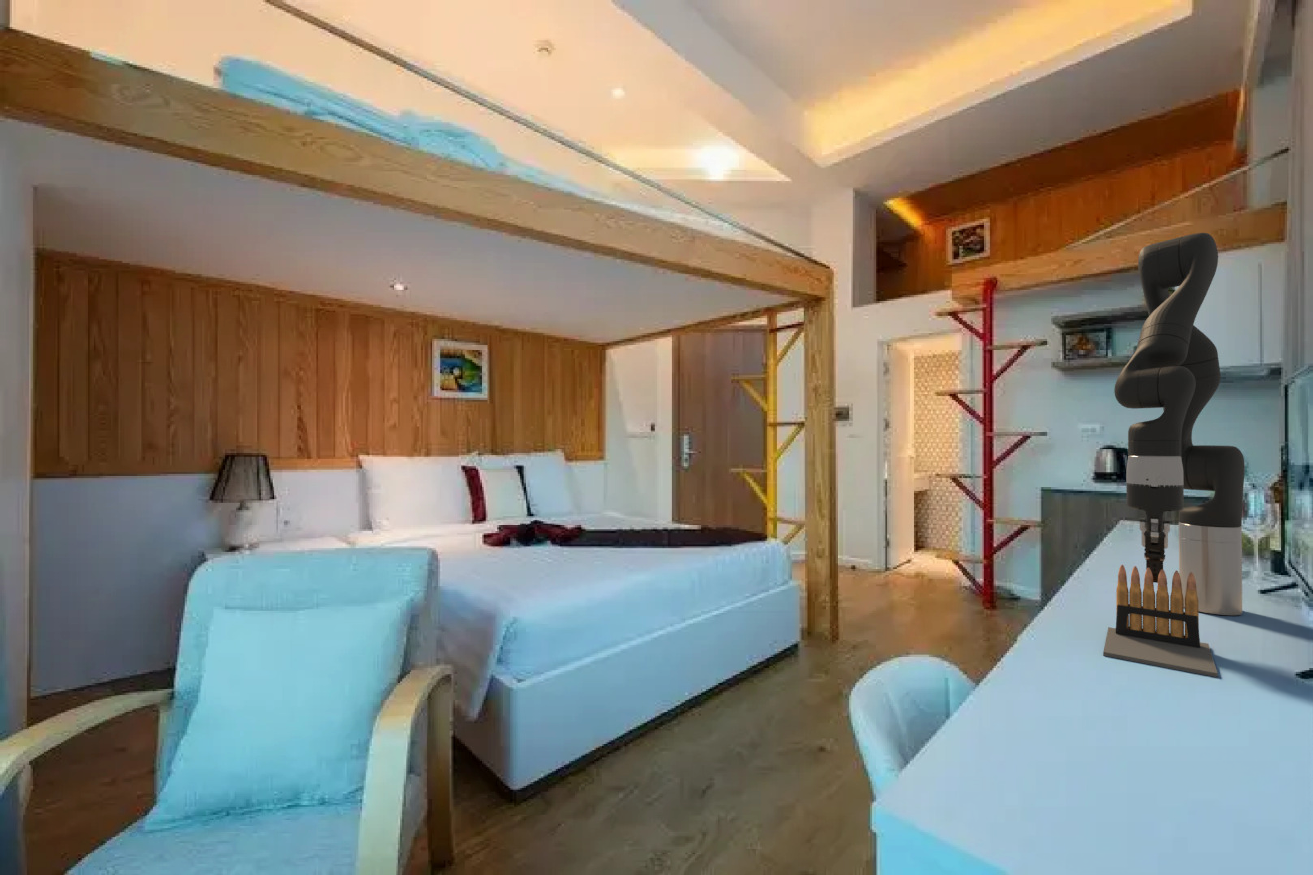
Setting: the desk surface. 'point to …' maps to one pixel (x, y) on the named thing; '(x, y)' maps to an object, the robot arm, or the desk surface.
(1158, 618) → the ammunition clip
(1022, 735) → the desk surface
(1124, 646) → the mat
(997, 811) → the desk surface
